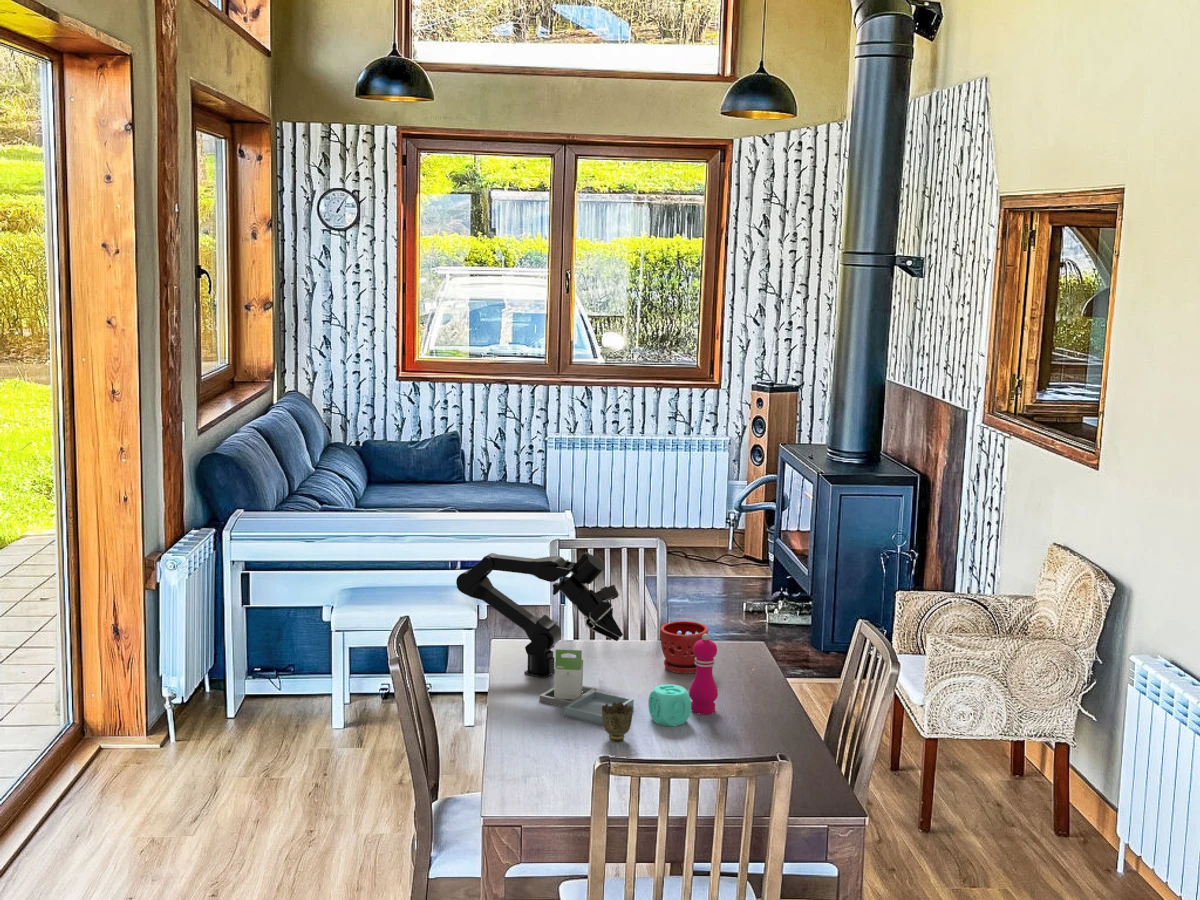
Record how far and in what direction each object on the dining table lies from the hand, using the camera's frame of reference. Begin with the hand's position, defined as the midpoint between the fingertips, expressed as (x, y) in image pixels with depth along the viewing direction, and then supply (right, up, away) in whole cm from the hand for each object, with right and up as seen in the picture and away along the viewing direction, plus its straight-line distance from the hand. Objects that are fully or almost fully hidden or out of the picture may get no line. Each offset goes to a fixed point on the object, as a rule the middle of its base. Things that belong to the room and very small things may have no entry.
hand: (619, 638), depth 337 cm
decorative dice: (+12, -17, -23) cm, 31 cm away
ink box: (-13, -14, -9) cm, 22 cm away
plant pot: (+18, -11, +16) cm, 26 cm away
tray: (-5, -16, -19) cm, 25 cm away
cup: (-1, -19, -36) cm, 41 cm away
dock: (-13, -14, -9) cm, 21 cm away
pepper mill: (+21, -16, -15) cm, 30 cm away
